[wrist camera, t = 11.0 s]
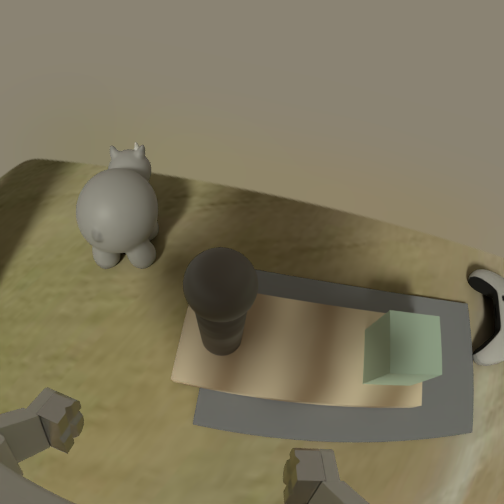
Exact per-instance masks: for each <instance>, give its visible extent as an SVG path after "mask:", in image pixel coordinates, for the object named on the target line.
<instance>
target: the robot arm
mask: <svg viewBox="0 0 504 504" xmlns="http://www.w3.org/2000/svg"><path fill="white" fill-rule="evenodd" d="M80 409H81V405H80V401H78V400H76V399H73V398H71V397H69V396H66V395H64V394H62V393H60V392H57V391H55V390H53V389H50V388H48V387H47V388H45V389H44V390H43V391H42V392H41V393H40V394H39V395H38V396H37V397H36V398H35V400H34V401H33V402H32V403H31V404H30V405H29V406H28V407H27V408H26V409H25V408H21V409H17V410H14V411H10V412H7V413H3V414H0V504H75V503H73V502H71V501H69V500H67V499H64V498H62V497H60V496H58V495H56V494H54V493H52V492H50V491H48V490H46V489H44V488H43V487H41V486H39V485H37V484H35V483H33V482H32V481H30V480H28V479H26V478H25V477H23V472H22V470H21V468H20V466H19V465H18V462H21V461H23V460H25V459H27V458H29V457H31V456H33V455H35V454H37V453H39V452H41V451H43V450H45V449H47V448H49V447H50V446H51V447H53V448H56V449H58V450H60V451H63V452H65V453H67V454H68V452H69V451H70V449H71V448H72V446H73V444H74V439H73V438H75V437H77V436H79V435H80V433H81V432H82V429H83V425H84V418H83V415H82V414H81V412H80V411H79V410H80ZM283 482H284V484H285V485H286V487H285V489H284V504H369V503H368V502H367V501H366V500H365V499H363V498H362V497H361V496H360V495H359V494H358V493H357V492H355V491H354V490H353V489H352V488H351V487H350V486H349V485H348V484H347V483H345V482H344V481H340V478H339V473H338V469H337V464H336V460H335V455H334V451H333V450H332V449H306V448H292V450H291V452H290V459H289V460H287V461H286V464H285V466H284V471H283Z"/></svg>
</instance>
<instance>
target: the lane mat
mask: <svg viewBox="0 0 504 504" xmlns="http://www.w3.org/2000/svg"><path fill="white" fill-rule="evenodd" d="M255 271H256V274H257V279H258V292H257V293H258V294H264V295H269V296H275V297H281V298H287V299H294V300H300V301H306V302H312V303H319V304H325V305H332V306H339V307H345V308H352V309H359V310H367V311H374V312H381V313H387V312H388V311H389V310H394V311H401V312H409V313H416V314H424V315H433V316H440V329H441V347H442V375H440V376H437V377H435V378H432V379H429V380H426V381H423V382H422V406H418V407H413V408H368V407H344V406H328V405H315V404H304V403H295V402H286V401H278V400H270V399H263V398H256V397H249V396H243V395H237V394H231V393H226V392H220V391H215V390H210V389H205V388H200V390H199V395H198V400H197V405H196V410H195V415H194V420H193V424H194V425H199V426H204V427H209V428H214V429H219V430H225V431H231V432H237V433H243V434H250V435H257V436H265V437H274V438H283V439H294V440H307V441H326V442H388V441H406V440H418V439H429V438H438V437H446V436H453V435H460V434H466V433H472V427H473V395H474V389H473V356H472V342H471V330H470V320H469V312H468V304H465V303H458V302H452V301H445V300H438V299H432V298H425V297H418V296H412V295H405V294H399V293H393V292H386V291H380V290H374V289H368V288H361V287H355V286H349V285H343V284H337V283H331V282H325V281H319V280H313V279H307V278H301V277H295V276H289V275H283V274H278V273H272V272H266V271H260V270H255Z"/></svg>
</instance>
